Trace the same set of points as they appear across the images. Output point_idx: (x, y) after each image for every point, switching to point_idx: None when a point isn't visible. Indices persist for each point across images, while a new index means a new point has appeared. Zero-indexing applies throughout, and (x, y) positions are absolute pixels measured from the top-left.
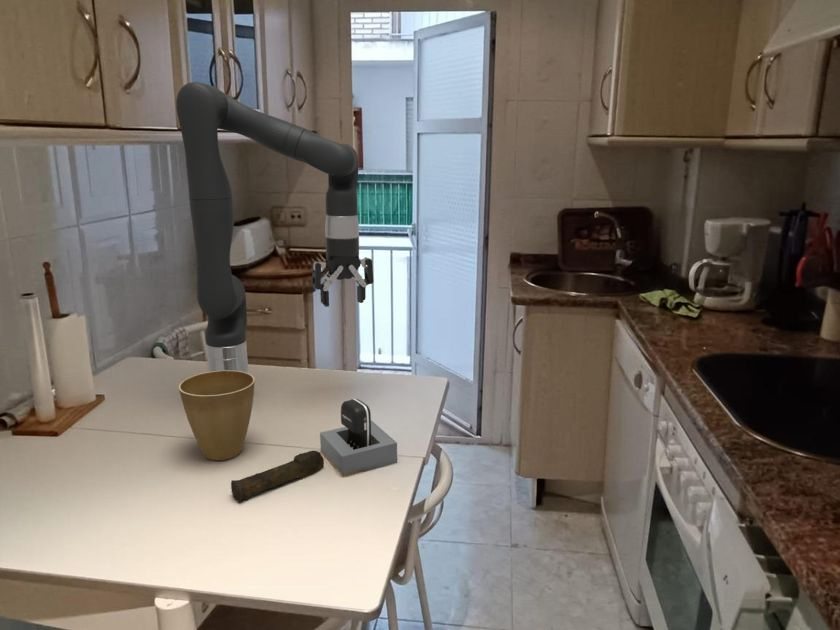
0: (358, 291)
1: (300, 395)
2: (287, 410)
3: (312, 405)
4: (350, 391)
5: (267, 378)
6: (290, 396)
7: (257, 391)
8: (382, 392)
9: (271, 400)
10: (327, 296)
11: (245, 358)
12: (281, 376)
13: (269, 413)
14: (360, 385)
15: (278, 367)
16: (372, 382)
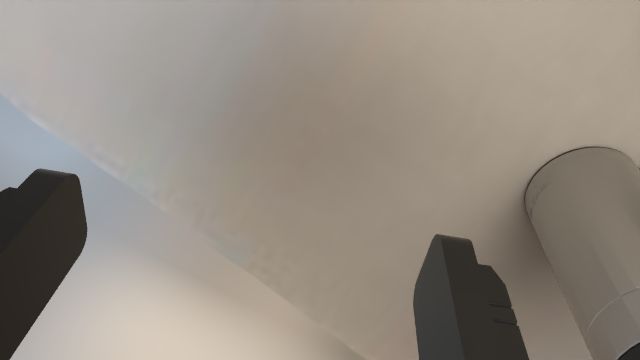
0: (21, 300)
1: (380, 159)
2: (476, 88)
3: (393, 75)
4: (235, 97)
5: (387, 292)
6: (407, 169)
7: None
8: (142, 25)
9: (465, 176)
10: (477, 318)
11: (623, 277)
12: (351, 285)
13: (529, 101)
14: (186, 118)
15: (327, 329)
16: (140, 116)
